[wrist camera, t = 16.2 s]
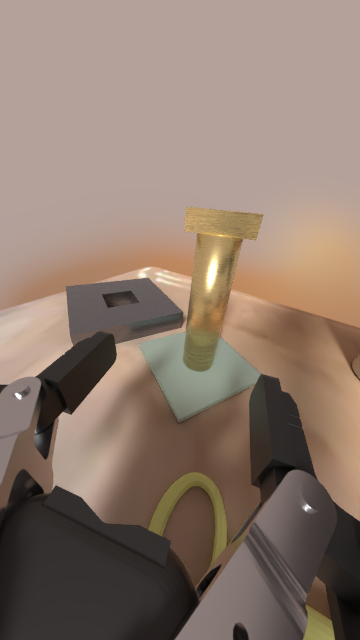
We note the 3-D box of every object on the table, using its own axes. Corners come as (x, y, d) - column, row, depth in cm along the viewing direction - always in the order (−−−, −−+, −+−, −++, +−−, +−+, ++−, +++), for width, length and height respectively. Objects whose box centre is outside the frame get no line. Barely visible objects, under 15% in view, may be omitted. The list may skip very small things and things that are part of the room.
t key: (222, 355, 25) (260, 213, 16) (218, 377, 22) (264, 215, 13) (180, 345, 27) (194, 207, 17) (171, 364, 23) (182, 207, 14)
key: (388, 701, 8) (425, 716, 7) (125, 650, 9) (120, 656, 8) (310, 493, 15) (323, 483, 13) (155, 470, 15) (155, 458, 14)
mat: (207, 328, 32) (207, 325, 31) (263, 380, 23) (264, 377, 23) (139, 346, 26) (139, 343, 26) (178, 423, 18) (179, 419, 17)
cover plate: (148, 290, 43) (148, 277, 41) (181, 327, 31) (182, 312, 30) (69, 301, 36) (66, 286, 34) (75, 353, 24) (70, 335, 23)
